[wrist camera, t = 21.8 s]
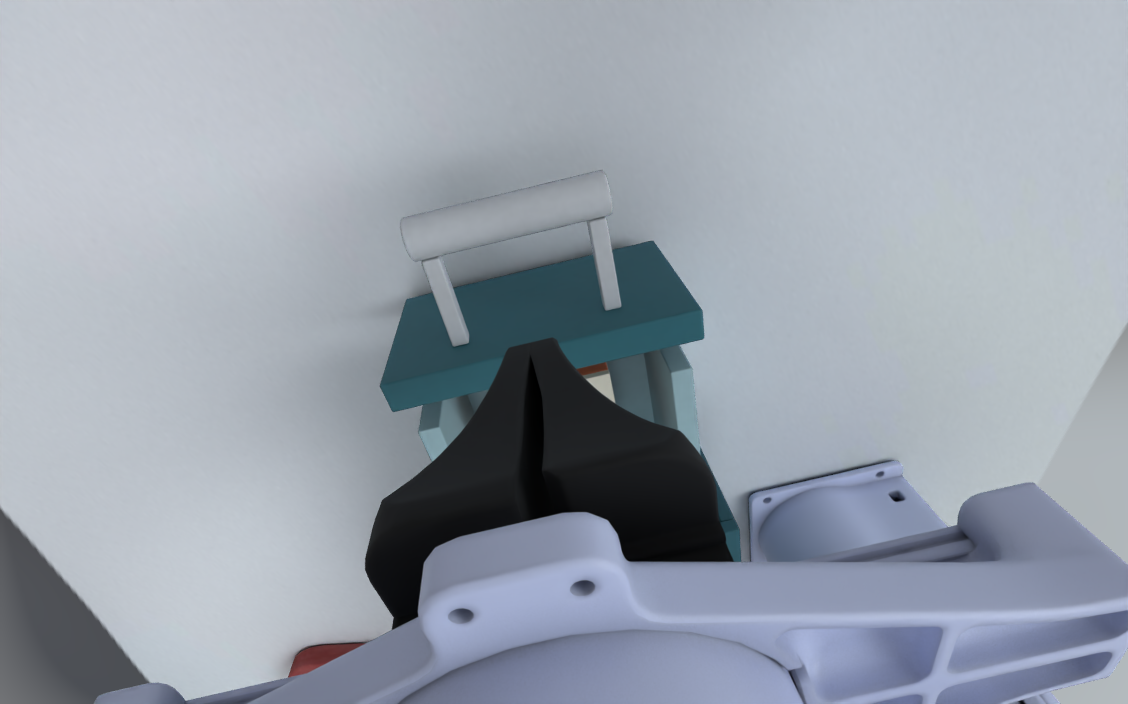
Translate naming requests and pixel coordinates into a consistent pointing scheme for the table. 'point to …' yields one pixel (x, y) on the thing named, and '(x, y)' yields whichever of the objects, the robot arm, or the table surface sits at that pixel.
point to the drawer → (541, 312)
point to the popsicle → (319, 657)
